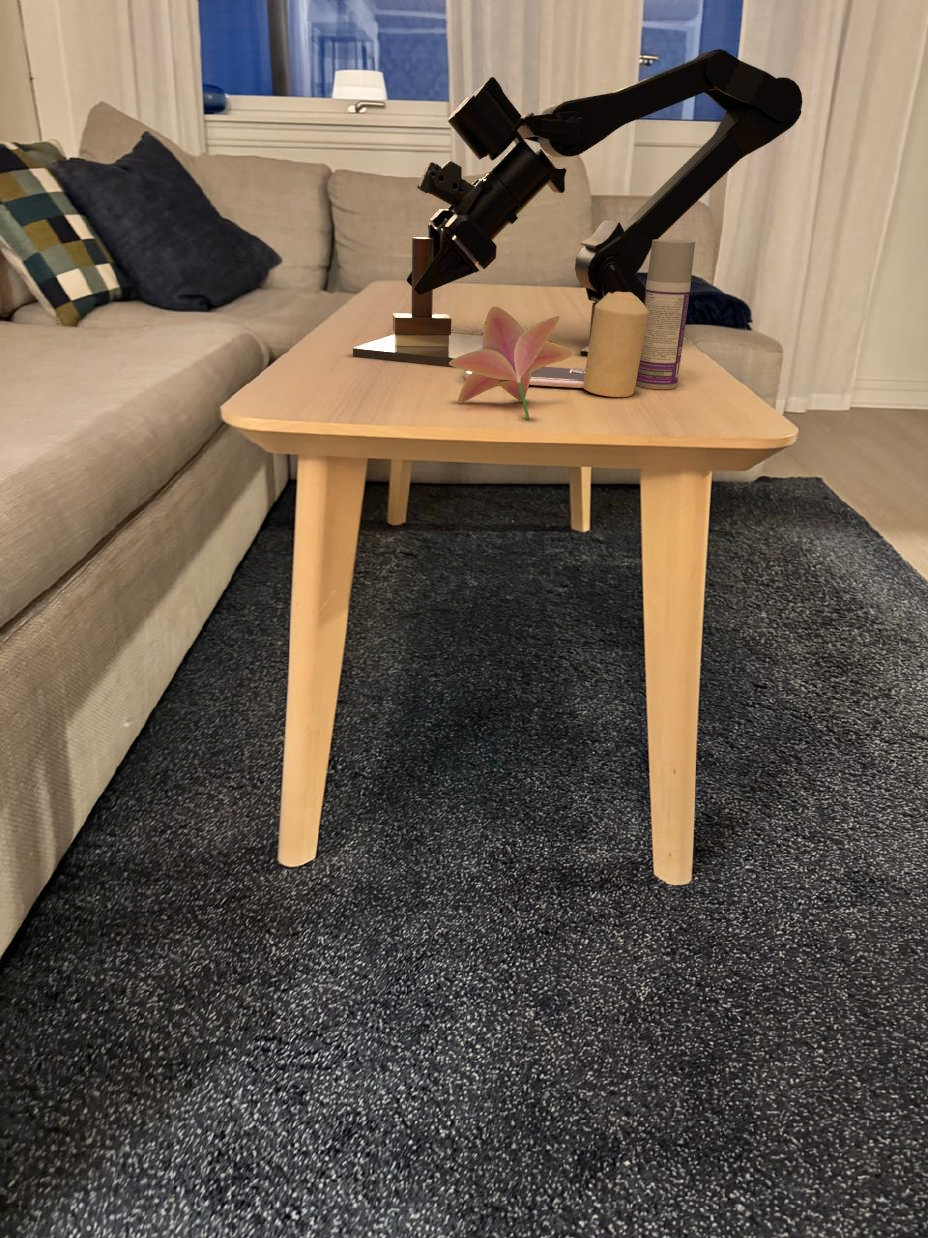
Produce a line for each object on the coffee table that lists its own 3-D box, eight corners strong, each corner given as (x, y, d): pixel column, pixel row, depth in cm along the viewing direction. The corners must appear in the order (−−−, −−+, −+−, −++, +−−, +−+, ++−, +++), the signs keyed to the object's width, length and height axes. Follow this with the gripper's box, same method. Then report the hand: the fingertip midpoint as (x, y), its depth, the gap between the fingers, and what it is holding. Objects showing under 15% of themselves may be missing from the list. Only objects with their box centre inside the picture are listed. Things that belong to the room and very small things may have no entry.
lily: (587, 416, 91) (564, 323, 91) (586, 392, 80) (560, 286, 80) (472, 448, 93) (450, 357, 93) (455, 429, 81) (429, 325, 81)
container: (650, 379, 105) (667, 238, 98) (685, 386, 102) (705, 241, 95) (626, 383, 102) (642, 239, 95) (661, 391, 99) (680, 242, 92)
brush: (392, 341, 116) (392, 236, 110) (447, 342, 117) (449, 237, 112) (395, 346, 113) (395, 237, 107) (450, 347, 114) (453, 239, 108)
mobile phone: (471, 360, 105) (600, 367, 104) (470, 368, 106) (600, 376, 104) (462, 372, 99) (601, 380, 97) (462, 381, 99) (600, 390, 98)
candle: (632, 400, 95) (650, 300, 90) (580, 393, 95) (595, 293, 90) (634, 387, 99) (652, 292, 95) (585, 380, 100) (599, 285, 95)
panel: (410, 336, 127) (410, 328, 126) (513, 346, 122) (513, 338, 122) (352, 356, 111) (352, 347, 111) (467, 368, 107) (467, 359, 107)
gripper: (448, 138, 114) (361, 231, 117) (472, 132, 97) (369, 241, 100) (506, 209, 118) (421, 297, 121) (538, 215, 102) (438, 316, 105)
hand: (412, 287), depth 112 cm, fingers open, 9 cm apart
